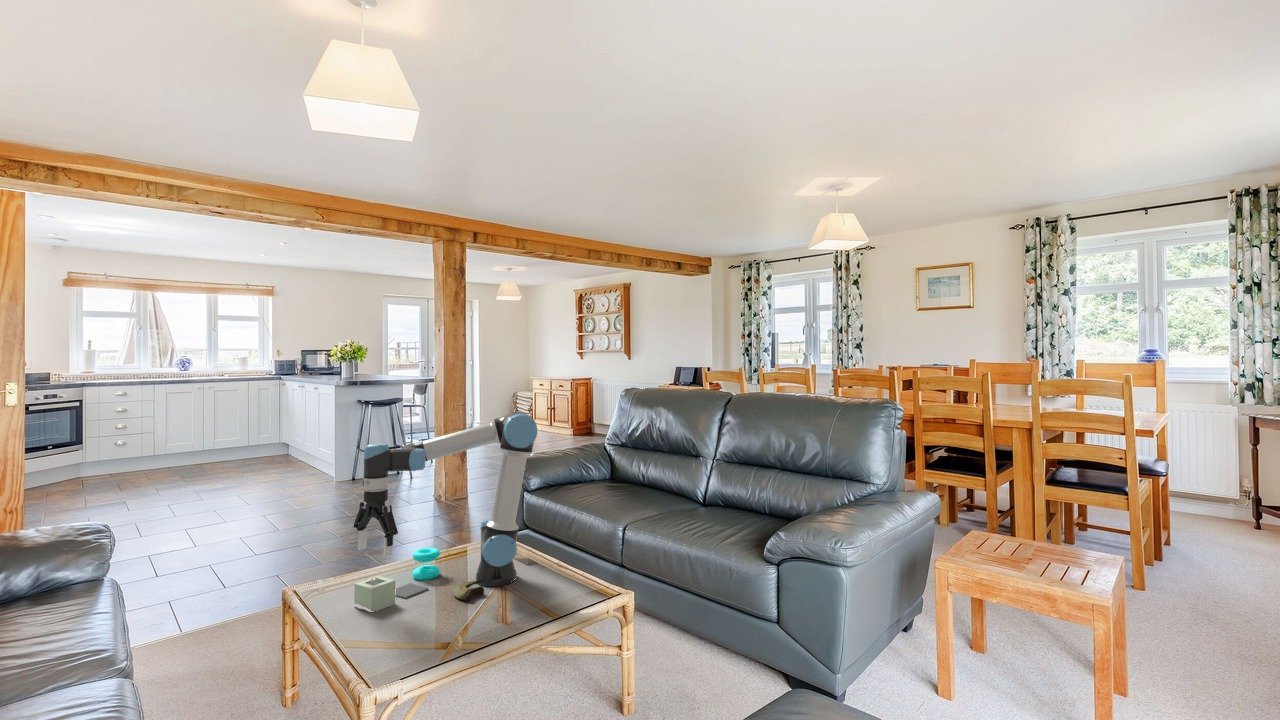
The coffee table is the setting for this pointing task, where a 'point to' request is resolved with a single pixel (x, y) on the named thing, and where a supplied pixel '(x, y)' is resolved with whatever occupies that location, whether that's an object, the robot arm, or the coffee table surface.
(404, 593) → the mat
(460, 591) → the claw
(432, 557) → the donuts
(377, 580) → the post stand
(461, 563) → the coffee table surface
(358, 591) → the sage cube with slot
